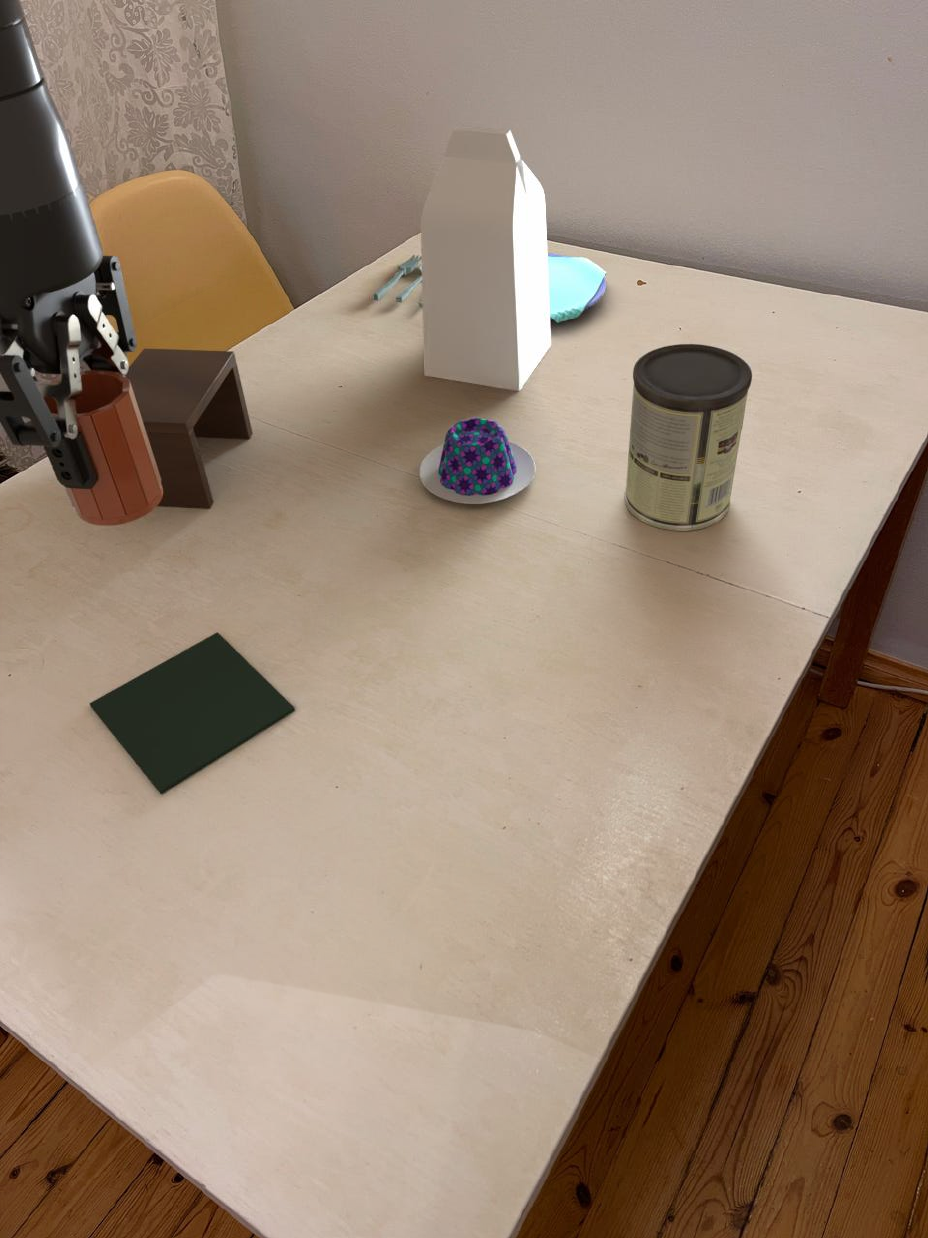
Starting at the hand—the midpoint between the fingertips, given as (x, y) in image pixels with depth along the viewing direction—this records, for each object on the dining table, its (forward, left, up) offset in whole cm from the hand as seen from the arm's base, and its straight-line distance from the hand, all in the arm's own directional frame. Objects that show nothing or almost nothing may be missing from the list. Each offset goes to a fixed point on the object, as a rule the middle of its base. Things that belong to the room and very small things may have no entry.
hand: (102, 454), depth 62 cm
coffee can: (+49, -9, -24) cm, 55 cm away
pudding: (+38, +8, -24) cm, 45 cm away
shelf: (+17, +31, -24) cm, 42 cm away
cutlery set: (+68, +38, -24) cm, 81 cm away
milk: (+55, +25, -24) cm, 65 cm away
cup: (0, 0, -4) cm, 4 cm away
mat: (0, 0, -24) cm, 24 cm away
